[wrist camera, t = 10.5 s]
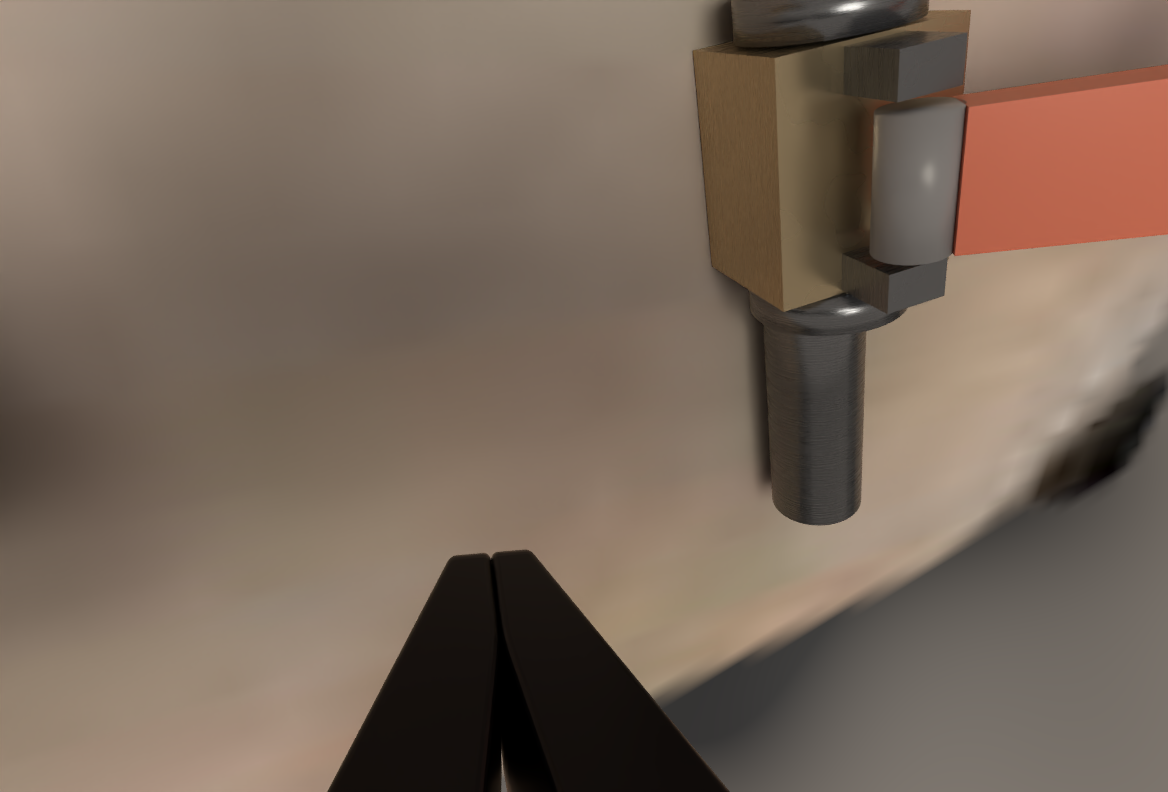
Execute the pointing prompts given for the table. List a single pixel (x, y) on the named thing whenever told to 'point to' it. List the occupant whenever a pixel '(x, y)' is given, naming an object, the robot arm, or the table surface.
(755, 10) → the pipe valve
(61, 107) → the table surface
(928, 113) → the lever
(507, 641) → the robot arm
